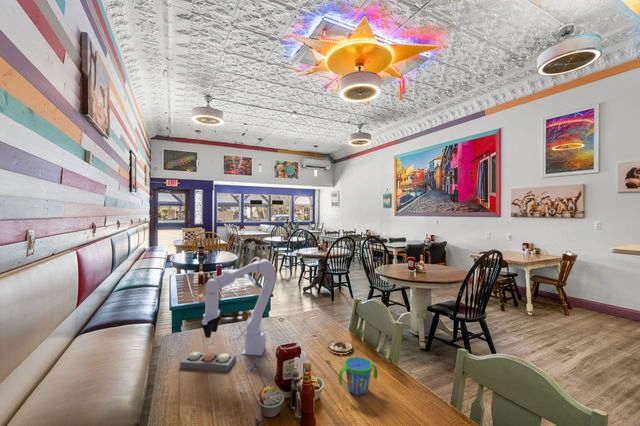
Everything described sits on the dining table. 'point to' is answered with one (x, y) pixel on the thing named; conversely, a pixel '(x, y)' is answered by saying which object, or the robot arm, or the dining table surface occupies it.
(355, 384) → the snack cup
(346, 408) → the dining table surface
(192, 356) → the sage button
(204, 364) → the button board
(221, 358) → the cream button
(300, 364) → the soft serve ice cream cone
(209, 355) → the terracotta button
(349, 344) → the brown white round dish
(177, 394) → the dining table surface
